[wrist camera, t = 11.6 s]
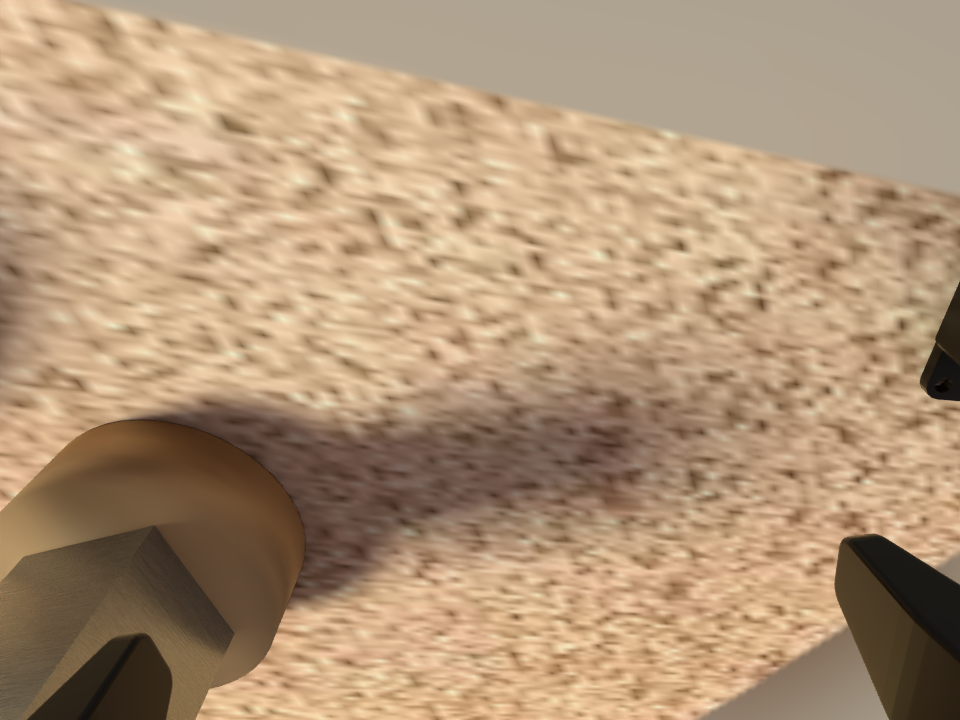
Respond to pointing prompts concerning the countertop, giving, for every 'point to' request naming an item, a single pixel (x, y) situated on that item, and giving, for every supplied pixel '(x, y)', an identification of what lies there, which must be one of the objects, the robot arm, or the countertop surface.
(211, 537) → the pedestal
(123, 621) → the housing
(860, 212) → the countertop surface
